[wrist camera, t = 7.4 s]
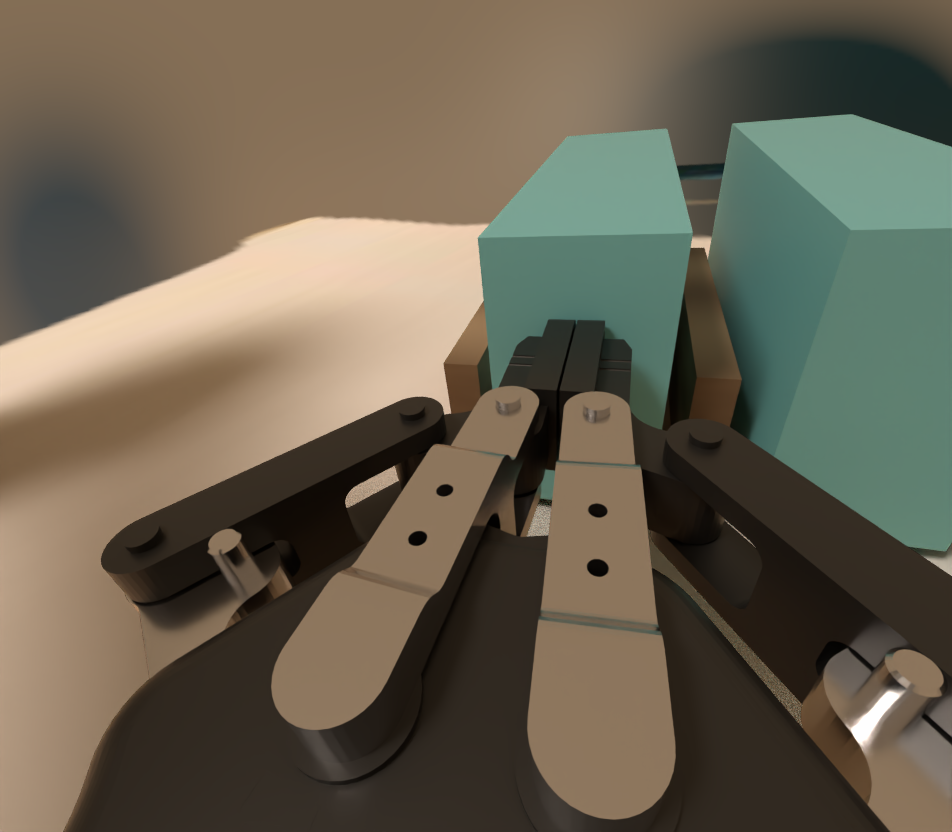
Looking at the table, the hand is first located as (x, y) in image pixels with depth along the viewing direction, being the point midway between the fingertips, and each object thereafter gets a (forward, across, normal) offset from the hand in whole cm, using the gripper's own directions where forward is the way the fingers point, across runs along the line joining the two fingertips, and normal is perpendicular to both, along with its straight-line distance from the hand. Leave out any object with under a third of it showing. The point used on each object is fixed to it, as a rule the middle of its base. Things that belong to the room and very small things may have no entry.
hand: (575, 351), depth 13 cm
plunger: (+9, 0, +6) cm, 11 cm away
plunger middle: (+9, -8, +6) cm, 14 cm away
